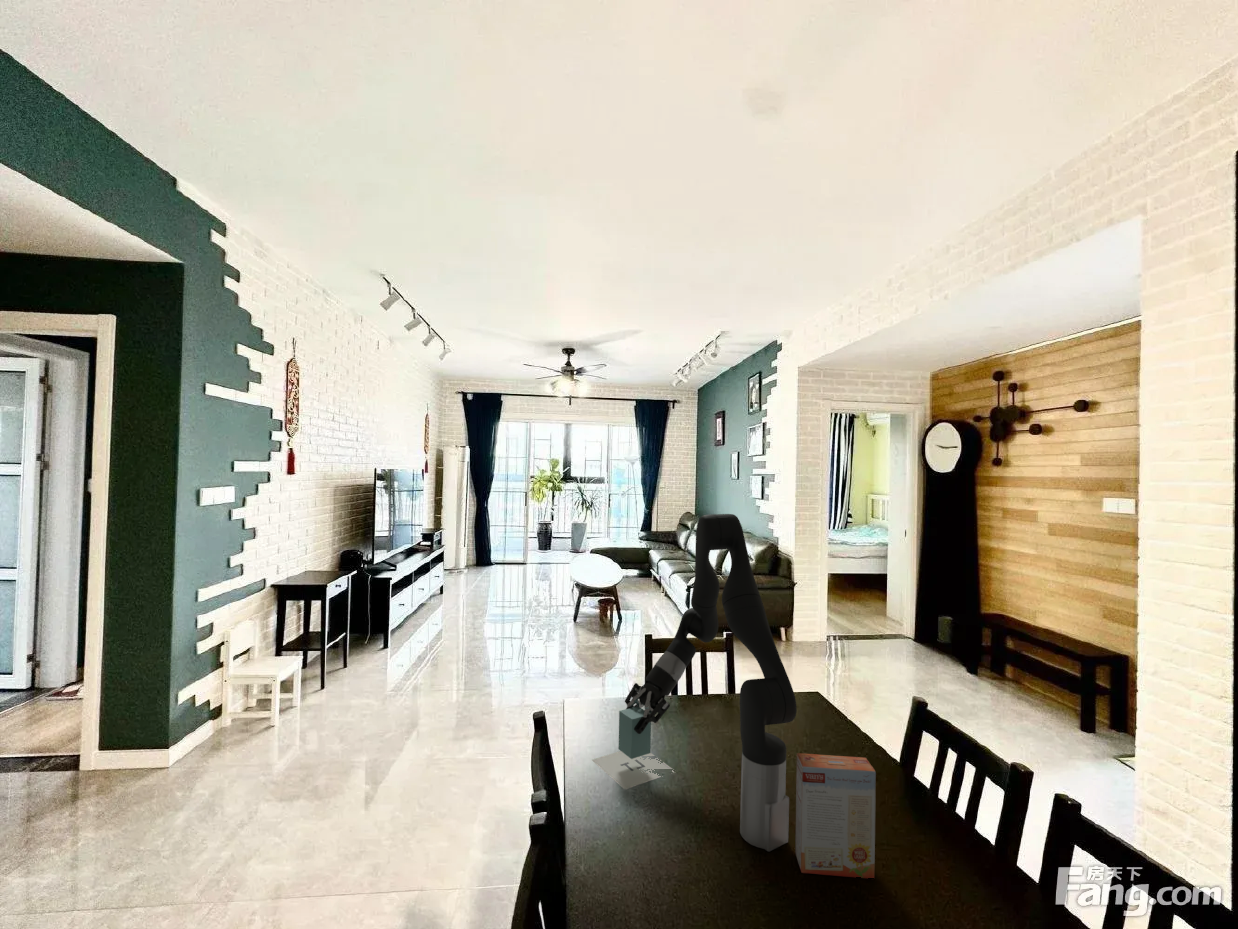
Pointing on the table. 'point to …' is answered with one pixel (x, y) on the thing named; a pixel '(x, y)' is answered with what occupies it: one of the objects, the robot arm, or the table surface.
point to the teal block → (633, 733)
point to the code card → (629, 768)
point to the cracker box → (835, 815)
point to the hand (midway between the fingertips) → (629, 726)
